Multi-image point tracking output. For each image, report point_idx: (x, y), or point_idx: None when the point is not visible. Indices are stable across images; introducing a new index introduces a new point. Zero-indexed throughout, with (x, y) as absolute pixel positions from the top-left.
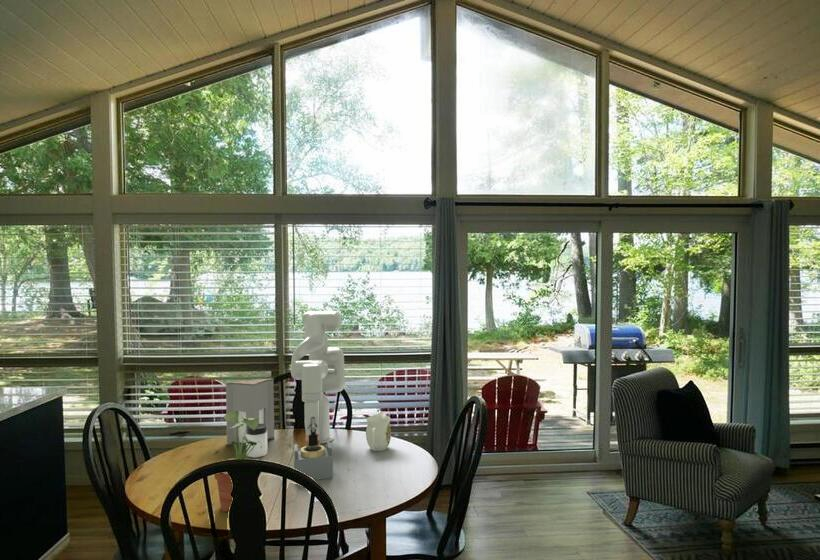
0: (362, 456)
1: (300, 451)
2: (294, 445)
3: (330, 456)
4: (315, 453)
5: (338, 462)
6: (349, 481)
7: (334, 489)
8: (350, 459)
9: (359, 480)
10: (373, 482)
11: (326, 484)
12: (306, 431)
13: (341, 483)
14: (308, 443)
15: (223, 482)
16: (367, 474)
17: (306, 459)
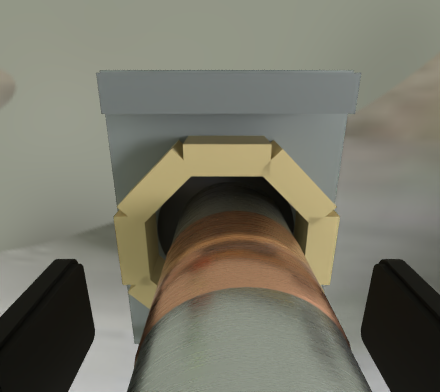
0: (378, 388)
1: (320, 135)
2: (311, 75)
3: (137, 333)
4: (123, 262)
5: (349, 300)
6: (108, 318)
7: (27, 259)
8: (364, 346)
9: (112, 351)
10: (85, 387)
11: (87, 232)
12: (186, 349)
13: (90, 289)
14: (173, 250)
15: None
16: None
17: (114, 177)
